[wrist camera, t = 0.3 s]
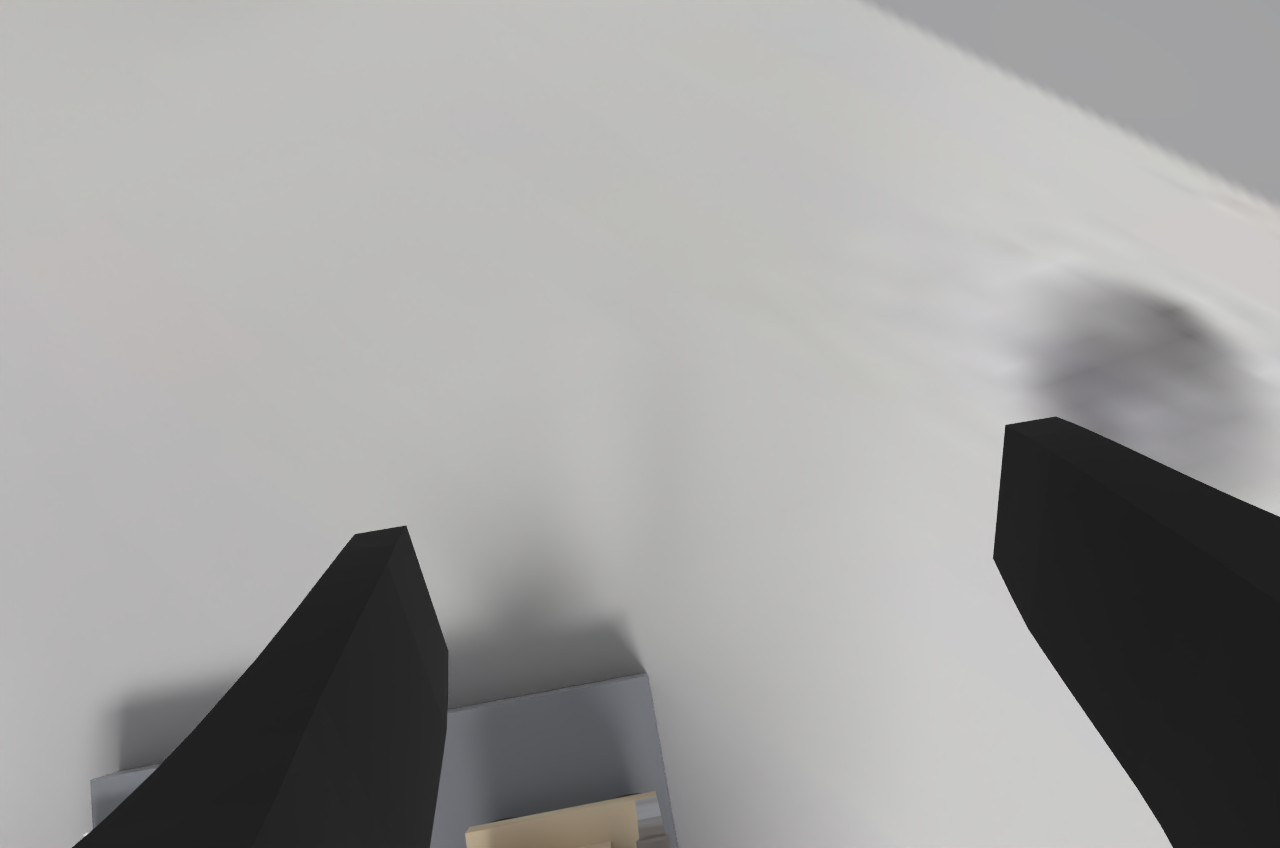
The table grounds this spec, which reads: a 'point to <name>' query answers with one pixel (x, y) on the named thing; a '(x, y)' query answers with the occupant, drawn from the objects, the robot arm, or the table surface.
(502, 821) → the toy vehicle
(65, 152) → the table surface
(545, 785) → the dock
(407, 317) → the table surface
